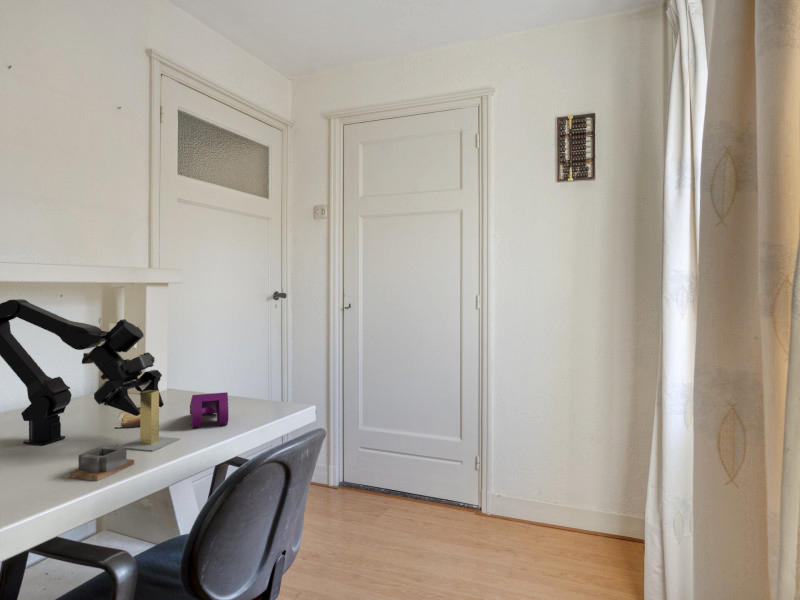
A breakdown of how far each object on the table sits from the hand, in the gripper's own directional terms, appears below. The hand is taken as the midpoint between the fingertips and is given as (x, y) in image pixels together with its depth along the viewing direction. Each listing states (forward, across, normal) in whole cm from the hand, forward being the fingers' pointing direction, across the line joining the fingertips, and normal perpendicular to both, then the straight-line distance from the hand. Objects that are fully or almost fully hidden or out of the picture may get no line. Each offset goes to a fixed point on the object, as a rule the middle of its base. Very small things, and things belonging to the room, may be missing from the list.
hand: (150, 410), depth 126 cm
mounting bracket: (+8, +23, +5) cm, 25 cm away
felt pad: (+6, 0, +6) cm, 8 cm away
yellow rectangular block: (+6, 0, +6) cm, 8 cm away
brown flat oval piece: (-8, +22, +21) cm, 32 cm away
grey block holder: (+7, -19, +5) cm, 21 cm away
